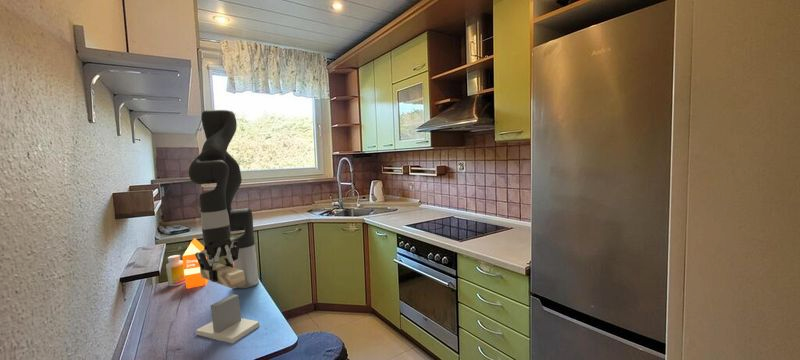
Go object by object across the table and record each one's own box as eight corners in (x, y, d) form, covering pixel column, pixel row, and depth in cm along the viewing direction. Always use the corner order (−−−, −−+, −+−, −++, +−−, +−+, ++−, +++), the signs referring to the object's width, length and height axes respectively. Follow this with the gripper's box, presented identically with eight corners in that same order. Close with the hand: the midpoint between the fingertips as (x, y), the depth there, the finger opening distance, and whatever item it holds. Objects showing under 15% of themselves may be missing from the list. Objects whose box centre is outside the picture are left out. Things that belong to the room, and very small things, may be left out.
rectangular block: (245, 283, 98) (243, 270, 98) (232, 288, 95) (230, 275, 95) (213, 273, 110) (212, 261, 110) (201, 277, 107) (199, 265, 106)
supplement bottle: (189, 281, 151) (186, 254, 150) (177, 286, 145) (173, 258, 143) (178, 280, 152) (174, 253, 151) (164, 286, 146) (161, 258, 145)
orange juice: (186, 288, 142) (180, 243, 140) (190, 281, 150) (185, 239, 148) (206, 284, 144) (201, 240, 143) (209, 278, 153) (204, 236, 151)
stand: (196, 334, 102) (192, 304, 102) (225, 318, 111) (221, 290, 111) (232, 343, 96) (228, 311, 95) (259, 326, 105) (256, 296, 104)
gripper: (227, 219, 109) (233, 269, 110) (184, 230, 96) (192, 286, 97) (243, 220, 106) (249, 271, 107) (201, 231, 93) (208, 288, 94)
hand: (222, 278), depth 102 cm, fingers closed on rectangular block, 4 cm apart
